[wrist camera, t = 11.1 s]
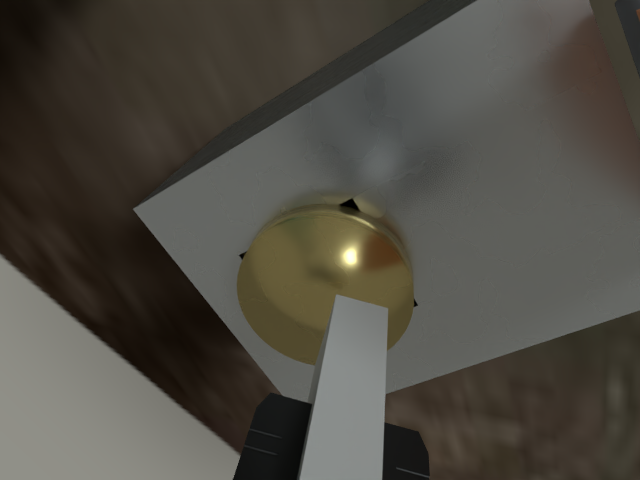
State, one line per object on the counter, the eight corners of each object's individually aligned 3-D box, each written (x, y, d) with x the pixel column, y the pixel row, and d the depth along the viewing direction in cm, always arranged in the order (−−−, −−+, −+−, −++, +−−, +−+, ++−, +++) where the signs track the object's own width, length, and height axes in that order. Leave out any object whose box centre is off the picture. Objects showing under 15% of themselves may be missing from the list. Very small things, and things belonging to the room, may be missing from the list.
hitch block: (224, 129, 28) (132, 209, 19) (497, -43, 22) (568, -56, 13) (332, 287, 32) (303, 421, 23) (587, 176, 26) (693, 292, 17)
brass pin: (277, 156, 28) (202, 265, 18) (375, 100, 26) (356, 186, 15) (334, 243, 31) (297, 386, 20) (429, 198, 28) (445, 333, 18)
